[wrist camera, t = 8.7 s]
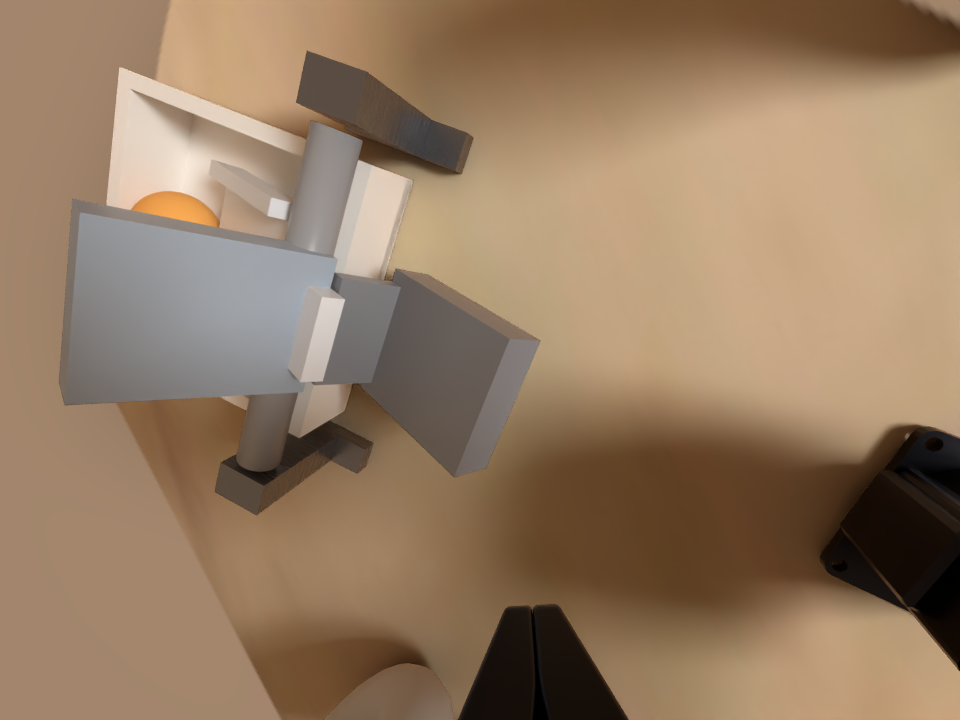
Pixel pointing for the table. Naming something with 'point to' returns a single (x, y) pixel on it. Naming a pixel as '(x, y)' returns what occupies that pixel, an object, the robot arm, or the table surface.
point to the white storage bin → (267, 155)
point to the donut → (397, 697)
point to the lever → (280, 317)
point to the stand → (394, 125)
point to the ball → (177, 207)
